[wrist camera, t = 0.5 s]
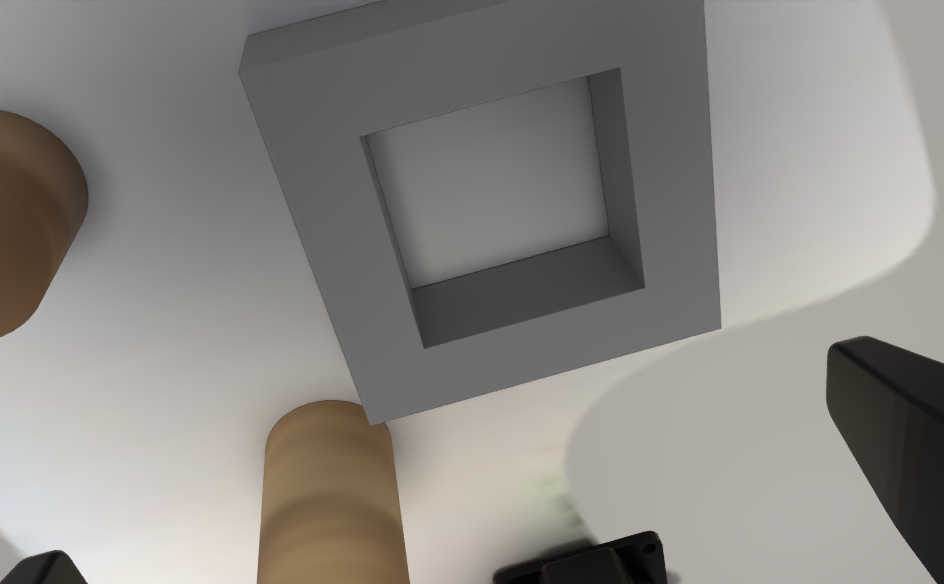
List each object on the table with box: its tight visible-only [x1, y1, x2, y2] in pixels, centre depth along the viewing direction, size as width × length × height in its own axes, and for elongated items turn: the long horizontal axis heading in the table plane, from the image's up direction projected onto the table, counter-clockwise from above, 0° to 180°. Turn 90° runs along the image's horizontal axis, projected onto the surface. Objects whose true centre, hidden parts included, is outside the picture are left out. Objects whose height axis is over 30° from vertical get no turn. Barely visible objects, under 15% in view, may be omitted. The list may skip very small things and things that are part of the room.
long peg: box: [257, 401, 410, 584], centre depth 23 cm, size 4×4×8 cm
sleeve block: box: [238, 0, 721, 426], centre depth 21 cm, size 10×10×3 cm
